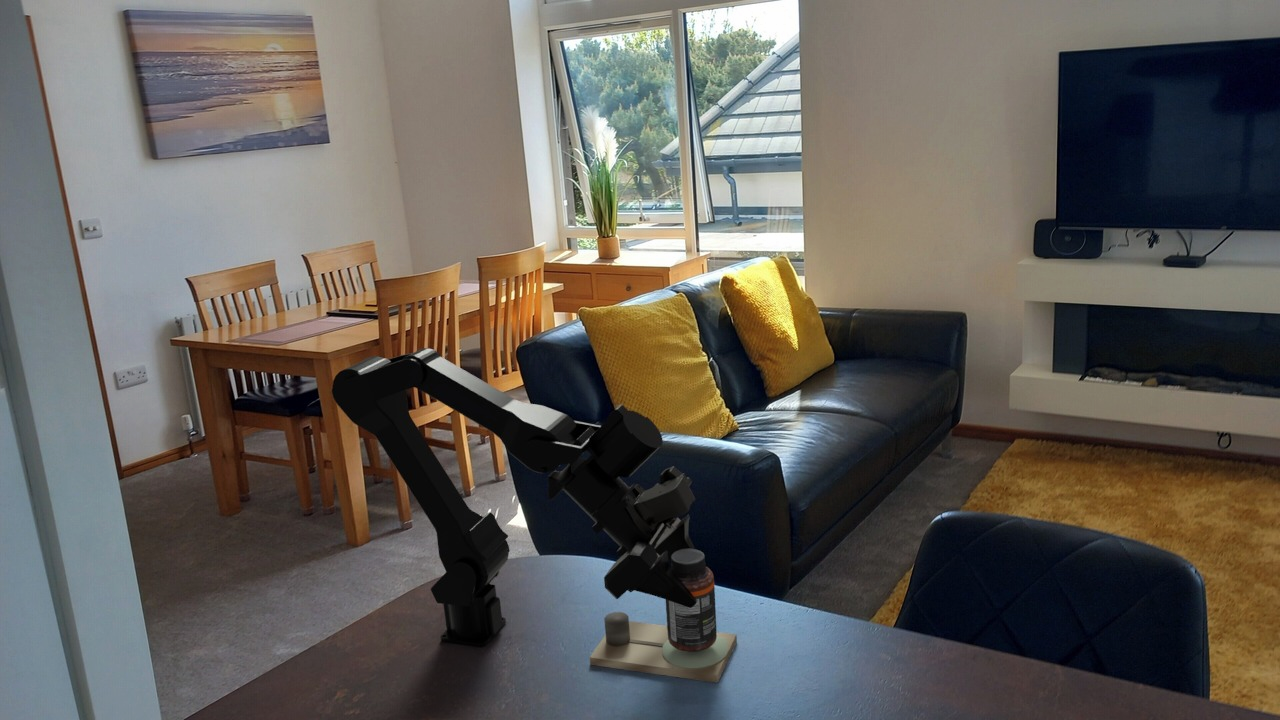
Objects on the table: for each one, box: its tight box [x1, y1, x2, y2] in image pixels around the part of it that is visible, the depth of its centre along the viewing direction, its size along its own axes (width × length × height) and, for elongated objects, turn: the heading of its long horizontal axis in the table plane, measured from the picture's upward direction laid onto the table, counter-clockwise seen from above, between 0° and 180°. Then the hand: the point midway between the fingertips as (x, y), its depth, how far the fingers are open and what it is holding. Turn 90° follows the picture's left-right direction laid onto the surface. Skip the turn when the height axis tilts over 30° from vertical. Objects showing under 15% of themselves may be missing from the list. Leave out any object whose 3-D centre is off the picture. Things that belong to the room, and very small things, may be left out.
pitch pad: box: [662, 635, 728, 669], centre depth 118 cm, size 8×8×1 cm
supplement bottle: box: [665, 548, 718, 652], centre depth 117 cm, size 6×6×11 cm
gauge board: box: [589, 611, 738, 684], centre depth 120 cm, size 16×9×4 cm, turn 70°
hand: (700, 591), depth 116 cm, fingers closed on supplement bottle, 6 cm apart
